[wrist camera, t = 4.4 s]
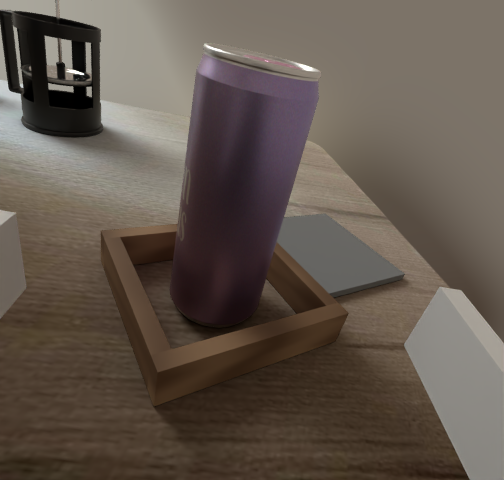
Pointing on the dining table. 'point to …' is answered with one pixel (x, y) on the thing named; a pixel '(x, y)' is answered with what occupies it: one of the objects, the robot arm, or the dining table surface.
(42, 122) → the french press
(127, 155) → the dining table surface
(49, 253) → the dining table surface
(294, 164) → the beverage can
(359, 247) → the slate coaster
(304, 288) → the walnut holder
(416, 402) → the dining table surface
